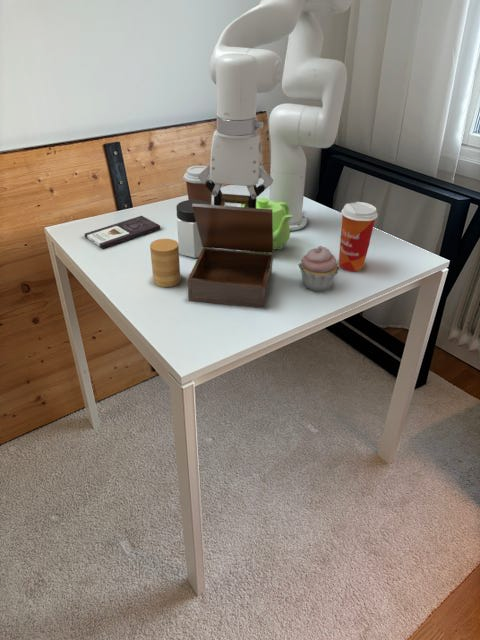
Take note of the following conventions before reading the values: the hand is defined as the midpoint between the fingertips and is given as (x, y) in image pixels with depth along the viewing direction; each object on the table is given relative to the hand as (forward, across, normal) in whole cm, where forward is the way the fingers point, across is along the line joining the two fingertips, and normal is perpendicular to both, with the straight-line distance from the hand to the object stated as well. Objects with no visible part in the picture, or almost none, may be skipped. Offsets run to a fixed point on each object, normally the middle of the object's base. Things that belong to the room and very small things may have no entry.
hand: (235, 212), depth 108 cm
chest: (+17, 0, +3) cm, 17 cm away
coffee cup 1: (+16, +17, -39) cm, 46 cm away
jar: (+17, +12, -13) cm, 24 cm away
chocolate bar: (+17, +34, -19) cm, 42 cm away
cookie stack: (+17, +15, +3) cm, 23 cm away
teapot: (+17, -5, -18) cm, 25 cm away
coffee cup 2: (+17, -27, -12) cm, 34 cm away
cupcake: (+17, -19, -1) cm, 25 cm away
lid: (+4, 0, 0) cm, 4 cm away
